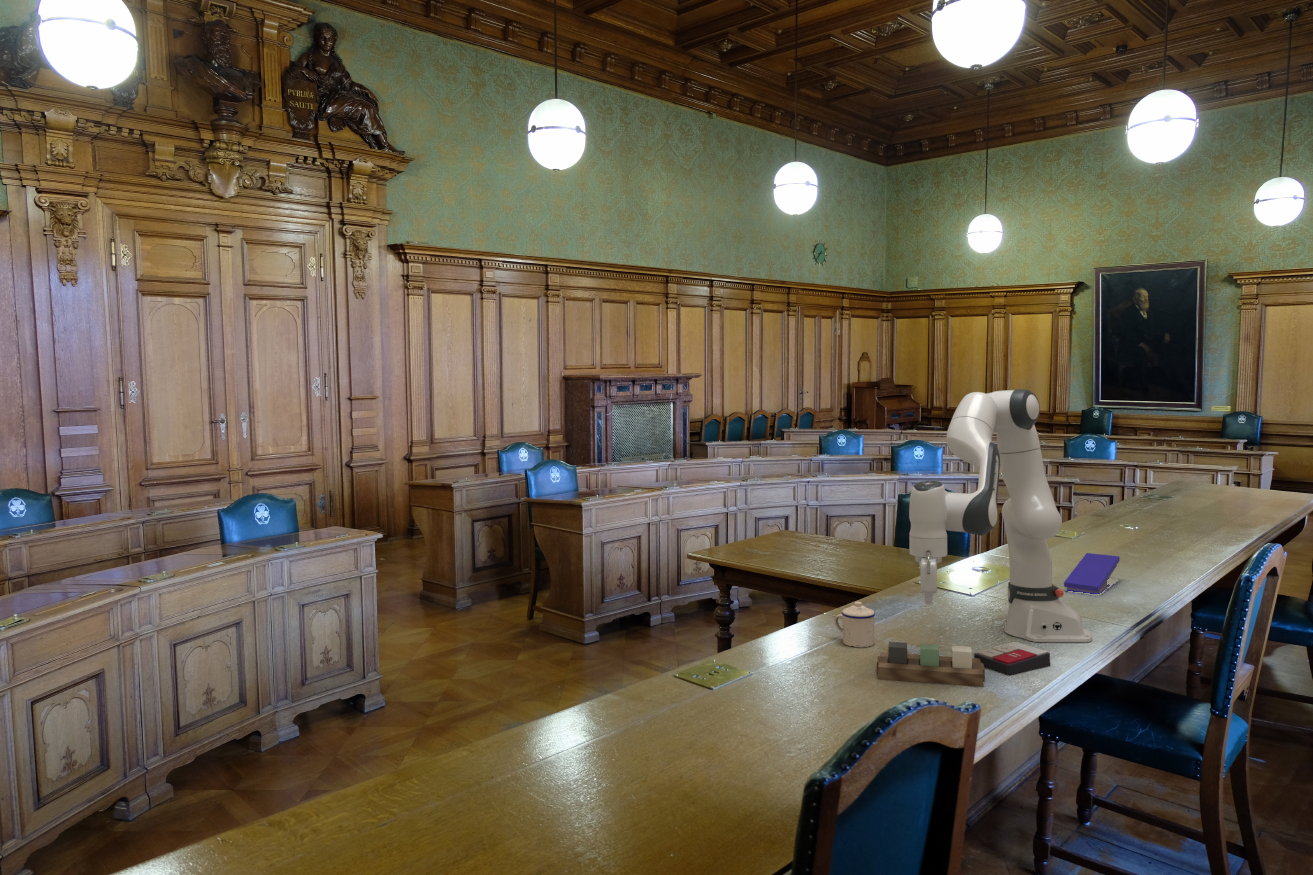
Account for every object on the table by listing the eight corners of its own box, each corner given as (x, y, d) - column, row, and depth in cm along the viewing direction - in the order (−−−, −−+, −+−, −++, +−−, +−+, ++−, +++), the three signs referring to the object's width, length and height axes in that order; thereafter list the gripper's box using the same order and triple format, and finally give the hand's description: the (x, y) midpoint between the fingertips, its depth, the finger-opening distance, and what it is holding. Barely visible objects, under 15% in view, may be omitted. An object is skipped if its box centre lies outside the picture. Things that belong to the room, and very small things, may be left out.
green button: (938, 664, 204) (938, 644, 204) (939, 670, 200) (939, 649, 200) (920, 663, 206) (920, 643, 205) (920, 668, 201) (920, 648, 201)
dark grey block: (907, 662, 207) (907, 642, 206) (907, 667, 202) (906, 647, 202) (889, 660, 208) (889, 641, 208) (888, 666, 204) (888, 646, 203)
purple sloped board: (1120, 582, 294) (1120, 555, 293) (1100, 597, 273) (1100, 568, 273) (1085, 578, 302) (1085, 551, 301) (1063, 593, 281) (1063, 564, 280)
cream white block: (971, 666, 202) (970, 646, 202) (972, 672, 198) (971, 652, 198) (952, 665, 203) (951, 645, 203) (952, 671, 199) (952, 650, 199)
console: (982, 670, 205) (982, 658, 205) (985, 686, 193) (985, 674, 193) (878, 663, 212) (878, 651, 212) (876, 678, 201) (876, 666, 201)
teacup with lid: (881, 642, 230) (880, 601, 230) (865, 650, 224) (864, 607, 223) (843, 634, 238) (842, 595, 238) (826, 642, 232) (826, 601, 231)
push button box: (973, 650, 210) (1014, 638, 217) (973, 667, 211) (1015, 654, 217) (1008, 662, 200) (1050, 649, 207) (1009, 679, 201) (1051, 666, 207)
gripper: (942, 556, 191) (943, 614, 191) (940, 540, 210) (941, 594, 211) (914, 555, 192) (914, 613, 193) (915, 540, 212) (915, 592, 213)
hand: (928, 603), depth 202 cm, fingers closed
